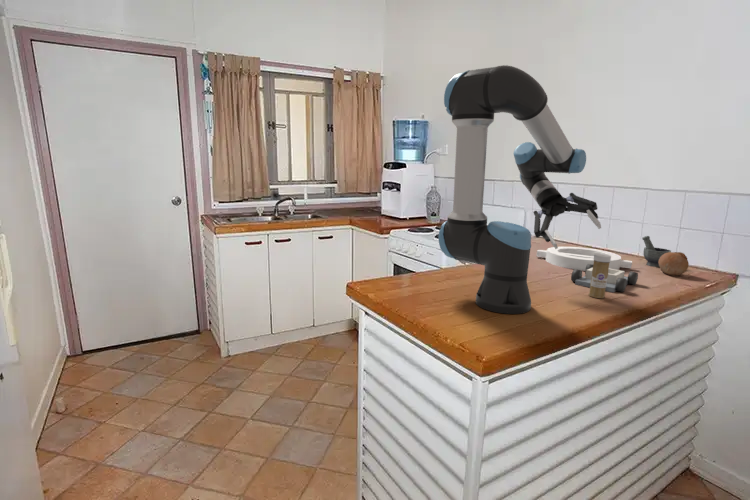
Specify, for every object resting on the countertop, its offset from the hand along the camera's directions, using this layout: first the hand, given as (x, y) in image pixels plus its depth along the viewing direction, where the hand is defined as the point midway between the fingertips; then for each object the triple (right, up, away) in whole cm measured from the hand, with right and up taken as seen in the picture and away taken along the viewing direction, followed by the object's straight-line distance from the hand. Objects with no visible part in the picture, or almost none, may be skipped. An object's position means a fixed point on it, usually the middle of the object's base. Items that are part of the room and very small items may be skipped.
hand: (577, 236), depth 127 cm
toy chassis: (+18, -16, +19) cm, 31 cm away
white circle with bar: (+25, -10, +49) cm, 56 cm away
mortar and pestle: (+56, -11, +49) cm, 75 cm away
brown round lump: (+53, -14, +34) cm, 64 cm away
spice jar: (+7, -19, +3) cm, 21 cm away
